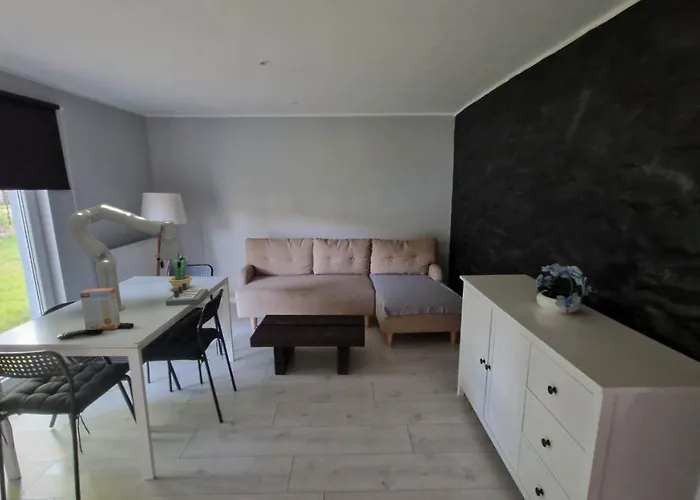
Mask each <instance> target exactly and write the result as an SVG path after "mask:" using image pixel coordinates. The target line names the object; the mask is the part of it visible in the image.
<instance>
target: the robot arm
mask: <svg viewBox="0 0 700 500" xmlns="http://www.w3.org/2000/svg"><path fill="white" fill-rule="evenodd" d="M102 220H106V221H110V222H113V223H116V224H119V225H122V226H125V227H128V228H131V229H134V230H137V231H140V232H143V233H147V234H149V235H157V234H159V233H161V238H159V242H161V243H160V246H159V247H160V248H159V252H158V253H157V254H155V255H154V257H155V258H156V260H157V261H158V263H159V264H160V265H159V267H160V268H161V269H164V268H165V262H164V260H173V259H176V260H177V261H178V262H177V265H178V268H180V267H181V261H182V260H183V258H184V256H186V254H185V253H182V252H181V251H179V245H178V242H176V241H177V240H176V227H175V226H176V225H175V221H172V220H163V221H161V220H149V219H147V218H144V217H142V216H139V215H137V214H135V213H134V212H131V211H129V210H125V209H122V208H120V207H117V206H113V205H111V204H109V203H107V202H106V203H105V202H103V203H100V204H98V205H95V206H91V207H89V208H85V209H82V210H78V211H77V210H76V211H75V212H73V213H72V214H71V216H70V217H69V218H68V220H67V223H66V224H67V225H66V229H67V232H68V234H69V235H70V236H71V238H72V240H73V241H74V242H75V244H76V245H78V247H79V248H80V250H82V252H83V254H84V255H85V256H86V257H88V258H90V259H93V261H94V262H95V263H96V264H95V274H96V277H97V282H98V283H97V284H98V288H115V289H116V296H117V303H118V310H119V312H120V311H123V310H125V308H126V306H125V305H123V304H122V298H121V292H120V285H119V284H120V283H119V279H118V277H119V276H118V273H117V266H118V261H117V259H116V257H115V255H114V254H112V252H111V251H110V249H109V248H108V247H107V246H106V245H105V244H104V243H103V242H102V241H100V240H97V239H96V238H95V237H94V235H93V234H92V233H91V232H90V230H89V229H88V228H87V226H88V225H90V224H93V223H96V222H100V221H102ZM179 255H181V256H182V257H181V258H179Z"/></svg>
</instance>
